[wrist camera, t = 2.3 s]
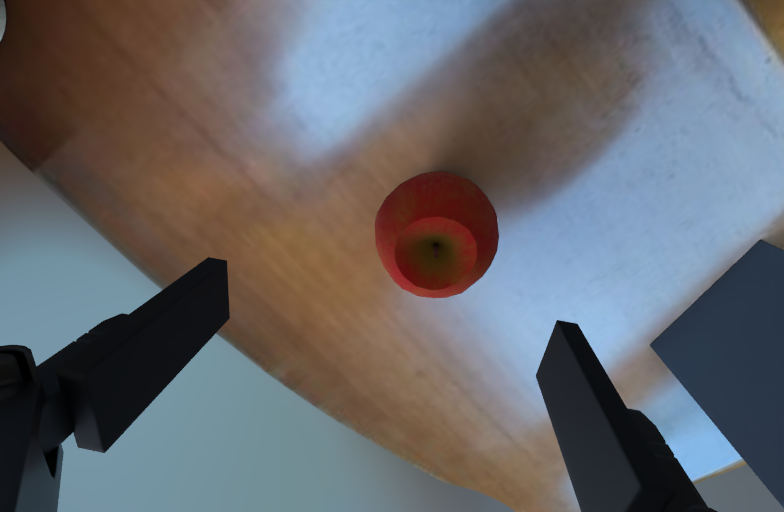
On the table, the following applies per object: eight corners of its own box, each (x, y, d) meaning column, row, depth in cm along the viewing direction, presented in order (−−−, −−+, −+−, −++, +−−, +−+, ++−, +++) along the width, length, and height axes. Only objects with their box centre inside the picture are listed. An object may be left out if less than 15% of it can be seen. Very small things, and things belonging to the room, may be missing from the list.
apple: (474, 262, 33) (488, 333, 24) (380, 245, 34) (355, 309, 24) (499, 165, 30) (527, 202, 20) (393, 148, 30) (371, 176, 21)
